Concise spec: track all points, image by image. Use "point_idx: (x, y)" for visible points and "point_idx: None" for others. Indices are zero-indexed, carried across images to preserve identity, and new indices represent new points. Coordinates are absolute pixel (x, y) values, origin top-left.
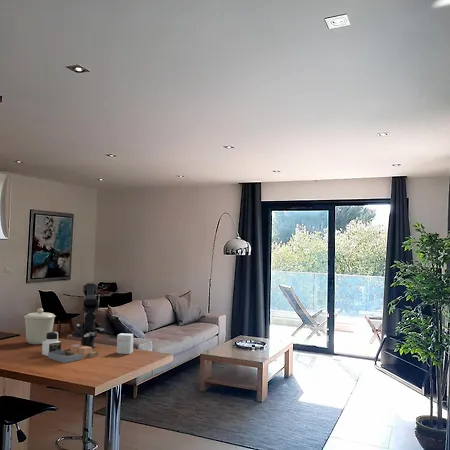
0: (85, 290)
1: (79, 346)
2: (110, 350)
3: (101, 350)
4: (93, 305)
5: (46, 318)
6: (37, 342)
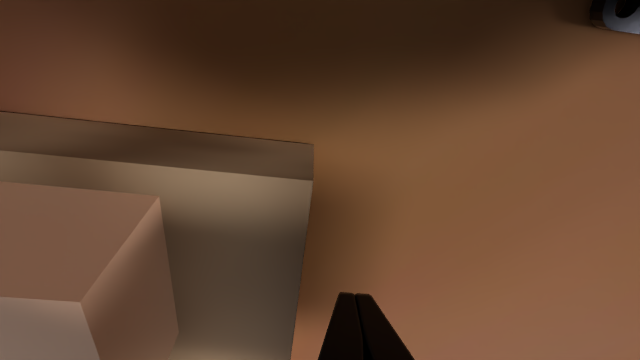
0: None
1: None
2: (594, 355)
3: (559, 290)
4: None
5: None
6: None
